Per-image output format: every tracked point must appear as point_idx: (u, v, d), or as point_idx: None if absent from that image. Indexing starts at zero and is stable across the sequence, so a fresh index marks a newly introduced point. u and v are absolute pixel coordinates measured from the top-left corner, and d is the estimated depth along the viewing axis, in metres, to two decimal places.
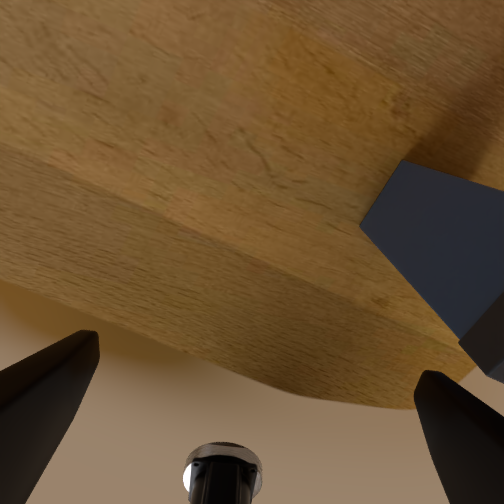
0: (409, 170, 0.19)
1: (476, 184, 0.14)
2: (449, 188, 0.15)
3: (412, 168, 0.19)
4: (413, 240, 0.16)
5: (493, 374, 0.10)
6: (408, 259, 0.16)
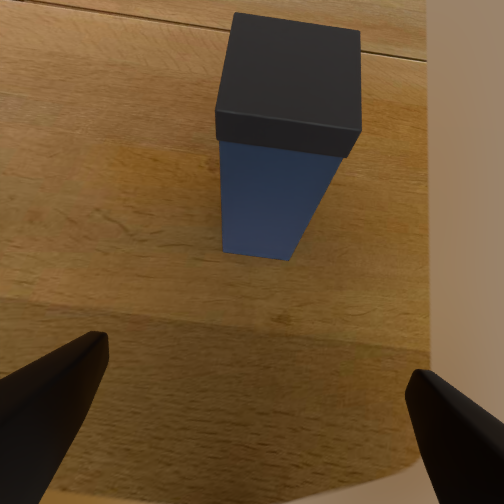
0: None
1: None
2: None
3: None
4: None
5: (218, 106, 0.11)
6: None
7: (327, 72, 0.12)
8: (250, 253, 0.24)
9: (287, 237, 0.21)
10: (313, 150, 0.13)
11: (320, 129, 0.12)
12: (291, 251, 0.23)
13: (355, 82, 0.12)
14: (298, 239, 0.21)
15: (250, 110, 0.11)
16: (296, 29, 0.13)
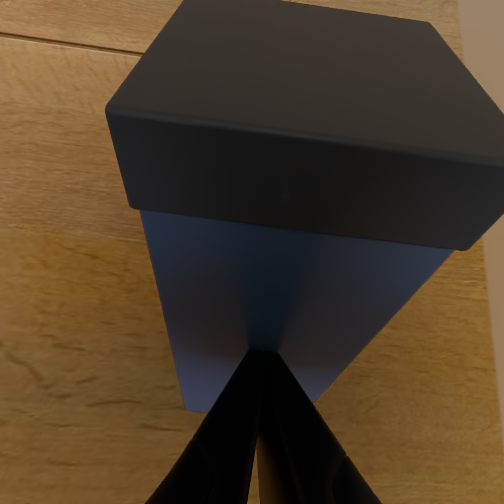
0: None
1: None
2: None
3: None
4: None
5: (116, 101, 0.04)
6: None
7: (397, 62, 0.05)
8: None
9: None
10: (383, 232, 0.05)
11: (419, 167, 0.04)
12: None
13: (465, 80, 0.05)
14: (316, 397, 0.12)
15: (212, 112, 0.04)
16: (312, 11, 0.07)
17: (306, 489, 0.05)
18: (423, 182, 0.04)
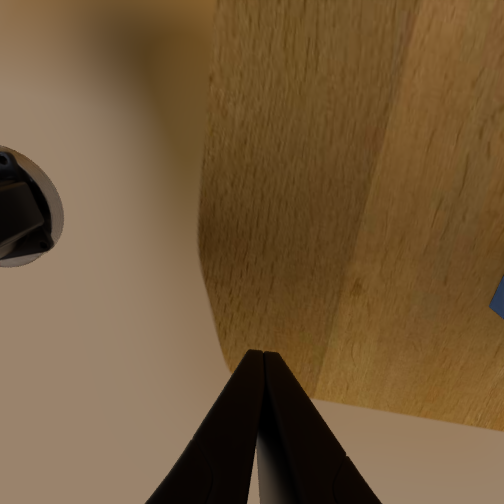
0: None
1: None
2: None
3: None
4: None
5: None
6: None
7: None
8: None
9: None
10: None
11: None
12: None
13: None
14: None
15: None
16: None
17: (306, 489, 0.05)
18: None
